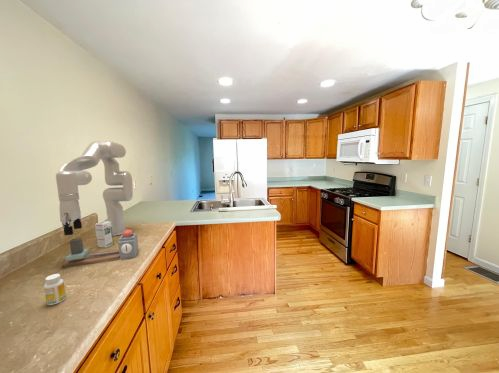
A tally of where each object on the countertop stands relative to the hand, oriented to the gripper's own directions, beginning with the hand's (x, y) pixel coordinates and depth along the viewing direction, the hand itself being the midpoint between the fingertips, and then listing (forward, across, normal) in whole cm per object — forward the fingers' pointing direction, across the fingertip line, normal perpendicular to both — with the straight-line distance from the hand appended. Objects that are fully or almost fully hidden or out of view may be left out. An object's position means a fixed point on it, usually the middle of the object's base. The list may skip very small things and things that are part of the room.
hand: (73, 231), depth 106 cm
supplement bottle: (+17, +32, +5) cm, 37 cm away
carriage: (+13, -1, 0) cm, 13 cm away
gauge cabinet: (+16, -1, +23) cm, 28 cm away
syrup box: (+16, -19, +7) cm, 26 cm away
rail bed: (+16, -1, +7) cm, 18 cm away
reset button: (+6, -1, +23) cm, 24 cm away
